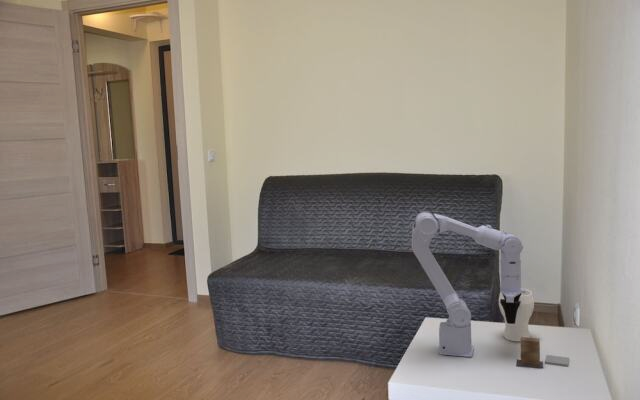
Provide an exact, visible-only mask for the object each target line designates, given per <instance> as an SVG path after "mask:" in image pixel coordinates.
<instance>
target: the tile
mask: <svg viewBox="0 0 640 400" xmlns="http://www.w3.org/2000/svg"><path fill="white" fill-rule="evenodd" d="M569 363H570V357H566V356H559V355H553V354H552V355H550V354H546V355H545V359H544V365H550V366H557V367H566V368H568V367H569Z"/></svg>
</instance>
